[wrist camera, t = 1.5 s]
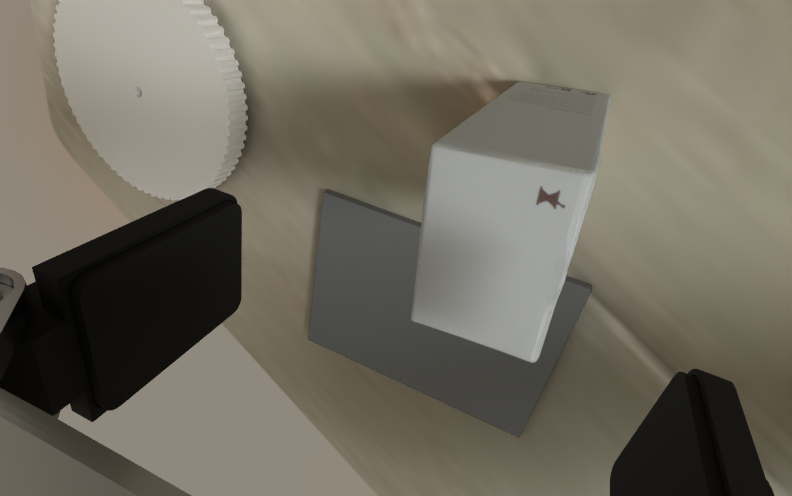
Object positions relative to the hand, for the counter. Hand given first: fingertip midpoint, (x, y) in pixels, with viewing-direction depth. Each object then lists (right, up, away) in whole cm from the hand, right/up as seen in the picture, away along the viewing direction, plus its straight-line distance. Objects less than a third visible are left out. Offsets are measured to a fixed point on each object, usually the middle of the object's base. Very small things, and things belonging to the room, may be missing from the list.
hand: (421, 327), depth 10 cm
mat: (+1, -3, +20) cm, 20 cm away
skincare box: (+7, +6, +13) cm, 16 cm away
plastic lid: (-15, +12, +21) cm, 29 cm away
